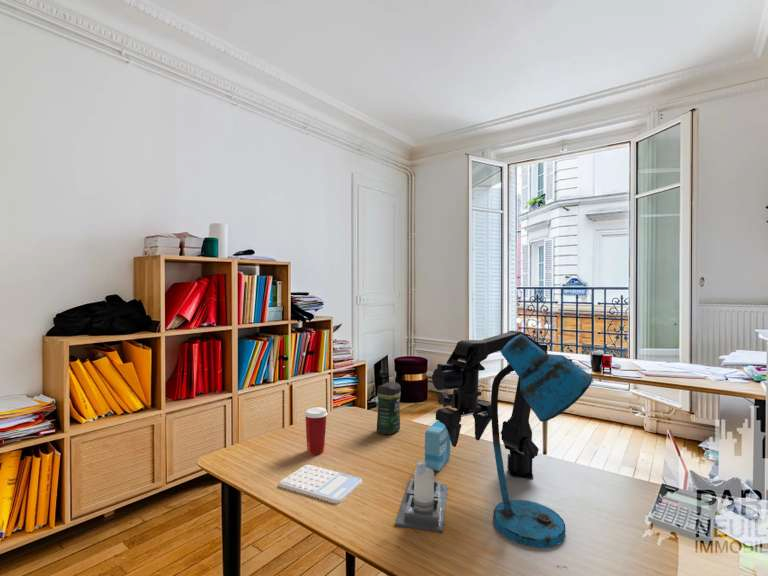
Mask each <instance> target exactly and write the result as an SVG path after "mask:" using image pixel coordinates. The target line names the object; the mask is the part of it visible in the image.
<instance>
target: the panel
mask: <svg viewBox="0 0 768 576" xmlns="http://www.w3.org/2000/svg"><path fill="white" fill-rule="evenodd" d="M448 488H449V485H448V484H443V483H441V481H437V480H434V513H433V515H432V514H425V513H417V512H414V477H411V479H409V480H408V483H407V485H406V489H405V492H404V495H403V498H402V501H401V504H400V506H399V509H398V513H397V517H396V519H395V522H394V526H395V527H403V528H409V529H416V530H423V531H428V532H429V531H430V532H436V533H443V529H444V521H445V514H446V506H447V499H448V498H447V496H448Z"/></svg>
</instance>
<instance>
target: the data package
mask: <svg viewBox="0 0 768 576" xmlns="http://www.w3.org/2000/svg"><path fill="white" fill-rule="evenodd" d="M450 458H451V440H450V437H449V434H448V431H447V429H446V427H445V425H444V424H443V423H440V422H439V421H438V420H435V421H434V423H432V424H431V425H430V426H429V427H428V428H427V429H426V430H425V433H424V462H425V463H426V467H427V468H430V469H432V470H433V471H435V472H440V471H441V470H442V469H443V468H444V466H445V465H446V464H447V462H448V461H450Z"/></svg>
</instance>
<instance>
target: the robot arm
mask: <svg viewBox="0 0 768 576" xmlns="http://www.w3.org/2000/svg"><path fill="white" fill-rule="evenodd" d="M520 334H523V335H524V336H525V337H527V338H528V339H529V340H530V341H532V342H533V343H534V344H535V345H537V346H538V347H539V348H540V349H542V350H543V351H544V352H545V353H547V354H548V351H547V349H546V347H545V346H544V345H543V344H540V343H539V342H538V341H536V340H534V339H533V338H530V337H529V336H528V335H527V334H526V333H525V332H523V331H518V330H509V331H507V332H504V333H501V334H498V335H493V336H490V337H486V338H484V339H465V340H459V341H458V342H457V343H456V345H455V348H454V350H453V351H452V352H451V354H450V356H449V357H448V359H447V361H446V363H444V364H443V363H437V365H436V368H435V369H434V370H433V372H432V375H431V381H432V384H433V387H434V388H435V389H436V390H437V391H445V390H446V391H445V392H438V395H437V403H438V405H442V408H439V409H437V410H436V411H435V421H439V422H440V423H443V424H444V425H445V427H446V429H447V431H448V434H449V437H450V445H451V446H452V447H453V448H456V447H457V445H458V441H459V438H460V433H461V432H460V431H461V429H462V423H461V421H462V418H463V417H467V416H472V417H473V419H474V439H475V441H480V439H481V438H482V436H483V434H484V433H485V431H486V428H487V427H488V425H489V423H490V422H492V421H491V402H487V401H485V400H479V397H480V396H482V391H480V390H479V375H480V374H479V372H480V371H485V370H486V368H485V366H483V365H482V362H483V361H486V359H487V358H488V356H490V355H491V354H494V353H497V352H501V351H502V349H503V348H504V346H505V345H506V344H507V343H508V342H509V341H510V340H511V339H513V338H514V337H516V336H518V335H520ZM517 378H518V379H517V384H516V389H515V396H514V401H513V406H512V413H511V417H510V418H509V419H508V420H507V421H506V420H504V421H502V427H501V431H500V432H499V435H501V441H502V442H503V446H504V449H506V450H508V451H509V453H508V454H507V466H506V467H507V470H508V471H509V475H510V476H511V477H517V478H518V477H519V478H527V479H534V474H533V459H535V458H536V457H538V454H539V448H538V446H537V445H536V444H535V443H534V441H533V430H532V427H531V425H530V417H531V415H530V414H531V410H532V408H531V407H530V406H529V404H528V403H527V401H526V400H525V398H524V397H523V395H522V394H521V392H520V378H519V377H517ZM448 390H453V391H452V394H448V393H447V391H448ZM449 406H450V407H451V408H449ZM454 409H456V410H454Z"/></svg>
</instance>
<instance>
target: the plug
mask: <svg viewBox="0 0 768 576" xmlns="http://www.w3.org/2000/svg"><path fill="white" fill-rule="evenodd" d="M434 471H435V470H432V469H430V468H427V467H426V463H425V460H424V461H419V462H416V468H415V469H414V474H413V478H414V512H417V513H425V514H432V515H433V513H434V481H435V472H434Z"/></svg>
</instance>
